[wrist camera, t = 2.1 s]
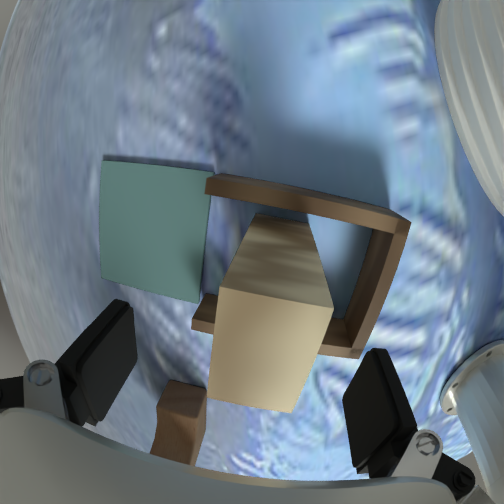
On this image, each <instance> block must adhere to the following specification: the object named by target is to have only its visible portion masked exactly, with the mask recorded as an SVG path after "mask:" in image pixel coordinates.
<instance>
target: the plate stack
mask: <svg viewBox="0 0 504 504" xmlns="http://www.w3.org/2000/svg"><path fill="white" fill-rule="evenodd" d="M434 34H435V49H436V56H437V62H438V68H439V73H440V77H441V82H442V86H443V90H444V93H445V97H446V100H447V104H448V107H449V110H450V114H451V117H452V120H453V123H454V125H455V128H456V131H457V134H458V136H459V139H460V142H461V144H462V147H463V149H464V152H465V154H466V156H467V158H468V161H469V163H470V165H471V167H472V169H473V171H474V173H475V175H476V177H477V179H478V181H479V183H480V185H481V186H482V188H483V190H484V192H485V193H486V195H487V196H488V198H489V199H490V201H491V202H492V204H493V205H494V206H495V208H496V209H497V210H498V211H499V212H500V213H501V215H502V216H503V217H504V0H441V1H440V3H439V5H438V8H437V12H436V17H435V28H434Z"/></svg>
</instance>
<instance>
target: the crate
mask: <svg viewBox="0 0 504 504" xmlns="http://www.w3.org/2000/svg"><path fill="white" fill-rule="evenodd" d="M204 194H207V195H213V196H219V197H225V198H230V199H236V200H242V201H247V202H253V203H258V204H263V205H268V206H274V207H279V208H284V209H289V210H294V211H298V212H303V213H308V214H313V215H317V216H322V217H326V218H331V219H335V220H340V221H344V222H348V223H353V224H357V225H361V226H365V227H369V228H373V231H372V235H371V238H370V242H369V245H368V249H367V252H366V255H365V259H364V262H363V265H362V268H361V271H360V274H359V277H358V280H357V283H356V286H355V289H354V292H353V295H352V298H351V300H350V303H349V306H348V309H347V311H346V314H345V317H344V319H337V318H331V319H330V322H329V325H328V327H327V330H326V333H325V335H324V338H323V341H322V343H321V346H320V348H319V351H318V353H317V354H320V355H327V356H335V357H343V358H352V359H359V357H360V355H361V353H362V351H363V349H364V347H365V345H366V343H367V341H368V339H369V336H370V334H371V332H372V330H373V328H374V325H375V323H376V321H377V318H378V316H379V314H380V311H381V309H382V306H383V304H384V302H385V299H386V297H387V294H388V291H389V289H390V286H391V283H392V281H393V278H394V275H395V272H396V270H397V267H398V264H399V261H400V258H401V255H402V252H403V249H404V246H405V242H406V239H407V236H408V232H409V229H410V226H411V222H410V221H409V220H407V219H405V218H404V217H402V216H400V215H399V214H397V213H395V212H394V211H392V210H390V209H386V208H383V207H379V206H375V205H372V204H368V203H364V202H360V201H356V200H352V199H348V198H344V197H340V196H336V195H331V194H327V193H323V192H318V191H314V190H309V189H304V188H300V187H295V186H290V185H285V184H280V183H275V182H269V181H264V180H259V179H253V178H247V177H241V176H235V175H229V174H223V173H221V174H217V175H214V176H211V177H208V178H206V185H205V193H204ZM217 303H218V296H216V295H212V294H208V293H206V294H205V296H204V298H203V299H202V301H201V303H200V305H199V307H198V308H197V310H196V312H195V314H194V316H193V318H192V326H191V329H192V330H196V331H200V332H205V333H209V334H213V335H214V327H215V319H216V311H217Z"/></svg>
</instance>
